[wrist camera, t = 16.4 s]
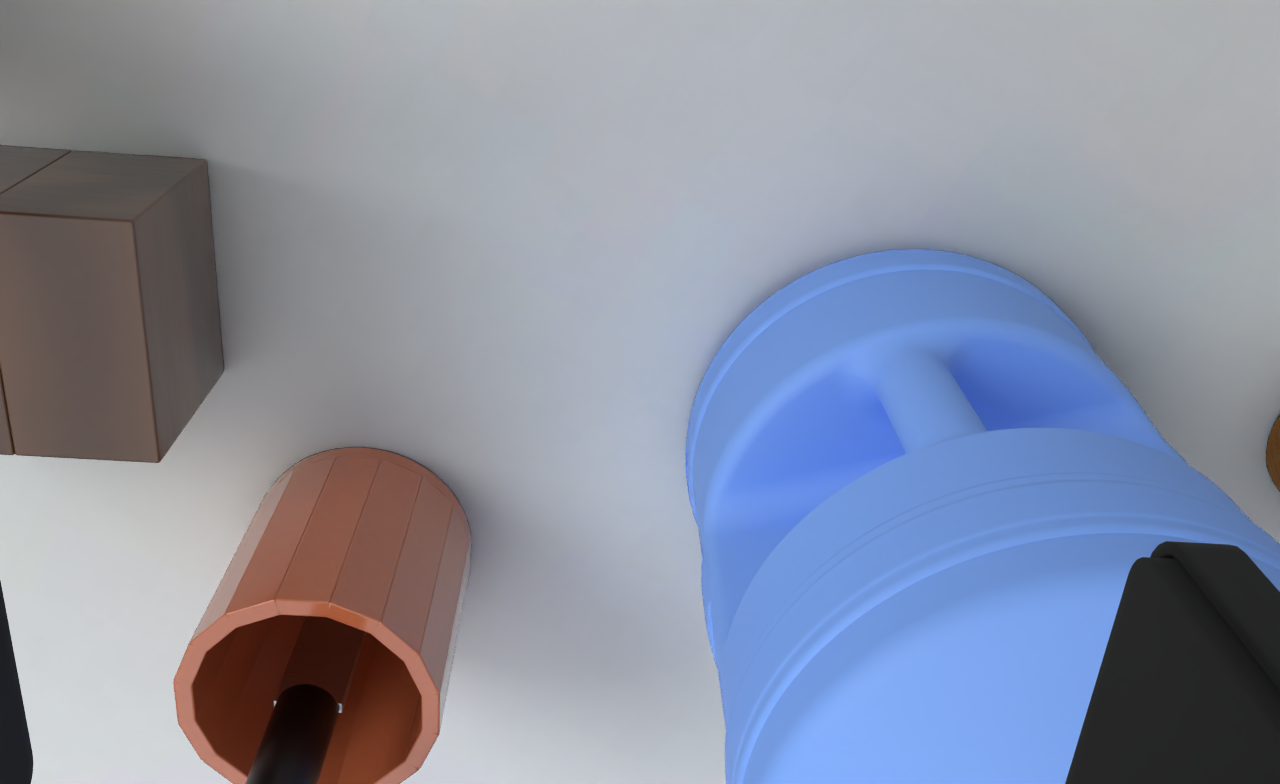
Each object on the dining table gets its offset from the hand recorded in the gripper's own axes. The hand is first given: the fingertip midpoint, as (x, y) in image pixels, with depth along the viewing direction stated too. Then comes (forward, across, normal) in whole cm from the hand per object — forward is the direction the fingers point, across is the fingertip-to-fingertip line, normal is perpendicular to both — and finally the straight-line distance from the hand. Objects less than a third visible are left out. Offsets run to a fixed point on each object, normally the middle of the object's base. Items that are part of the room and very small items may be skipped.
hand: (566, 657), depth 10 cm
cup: (+32, +8, +20) cm, 39 cm away
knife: (+32, +8, +20) cm, 38 cm away
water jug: (+32, -12, +14) cm, 37 cm away
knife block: (+32, +19, +9) cm, 39 cm away
